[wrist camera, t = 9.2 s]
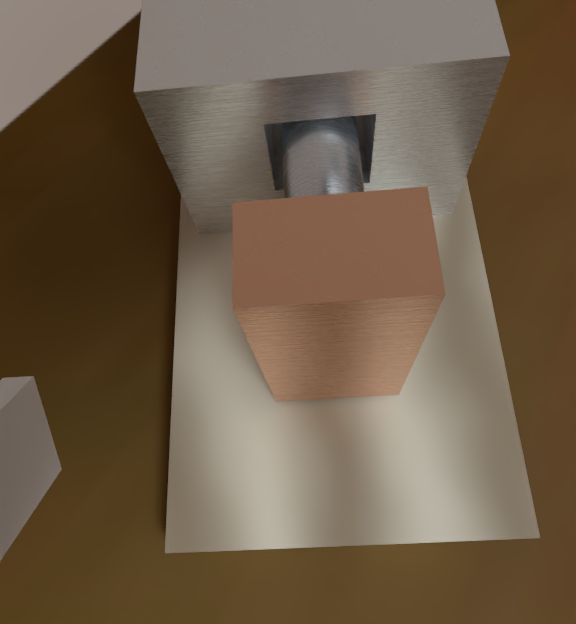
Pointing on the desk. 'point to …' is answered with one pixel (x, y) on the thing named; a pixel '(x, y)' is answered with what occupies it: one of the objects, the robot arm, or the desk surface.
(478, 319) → the base board
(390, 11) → the bearing block
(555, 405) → the desk surface
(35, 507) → the robot arm
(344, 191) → the shaft
